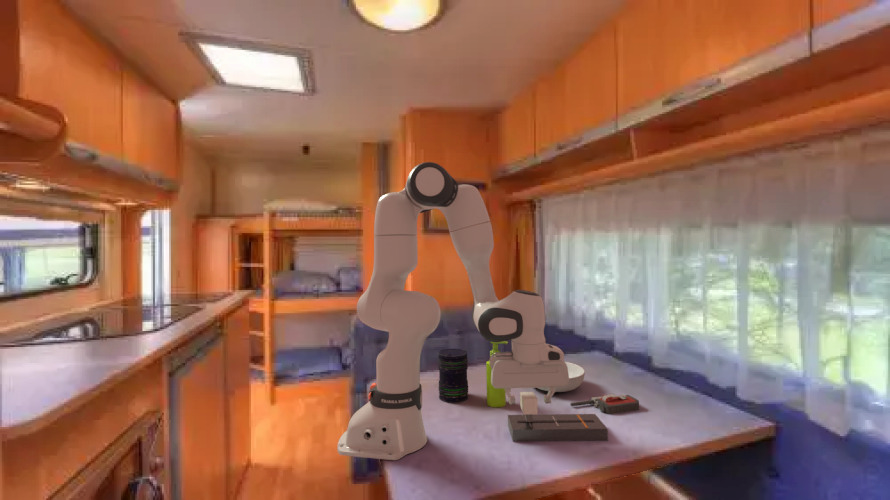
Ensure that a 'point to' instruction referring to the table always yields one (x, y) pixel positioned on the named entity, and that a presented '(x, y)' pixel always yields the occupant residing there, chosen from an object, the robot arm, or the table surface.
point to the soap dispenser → (494, 395)
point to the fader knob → (528, 405)
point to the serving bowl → (570, 378)
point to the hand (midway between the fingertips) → (529, 403)
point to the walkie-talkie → (612, 403)
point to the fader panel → (557, 428)
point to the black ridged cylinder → (453, 375)
